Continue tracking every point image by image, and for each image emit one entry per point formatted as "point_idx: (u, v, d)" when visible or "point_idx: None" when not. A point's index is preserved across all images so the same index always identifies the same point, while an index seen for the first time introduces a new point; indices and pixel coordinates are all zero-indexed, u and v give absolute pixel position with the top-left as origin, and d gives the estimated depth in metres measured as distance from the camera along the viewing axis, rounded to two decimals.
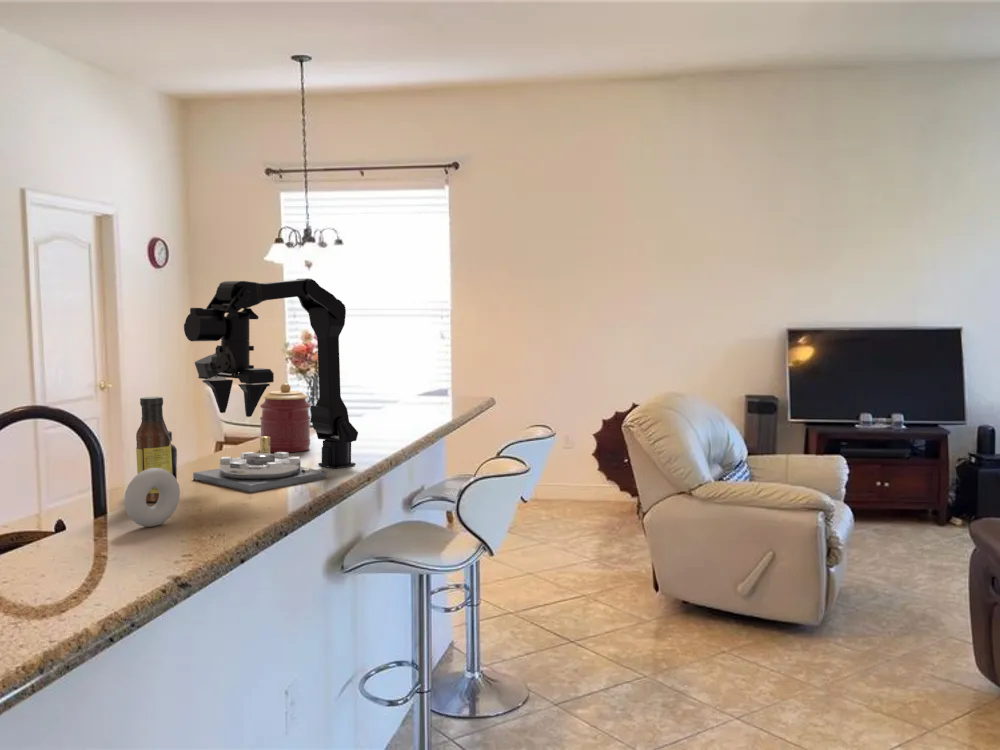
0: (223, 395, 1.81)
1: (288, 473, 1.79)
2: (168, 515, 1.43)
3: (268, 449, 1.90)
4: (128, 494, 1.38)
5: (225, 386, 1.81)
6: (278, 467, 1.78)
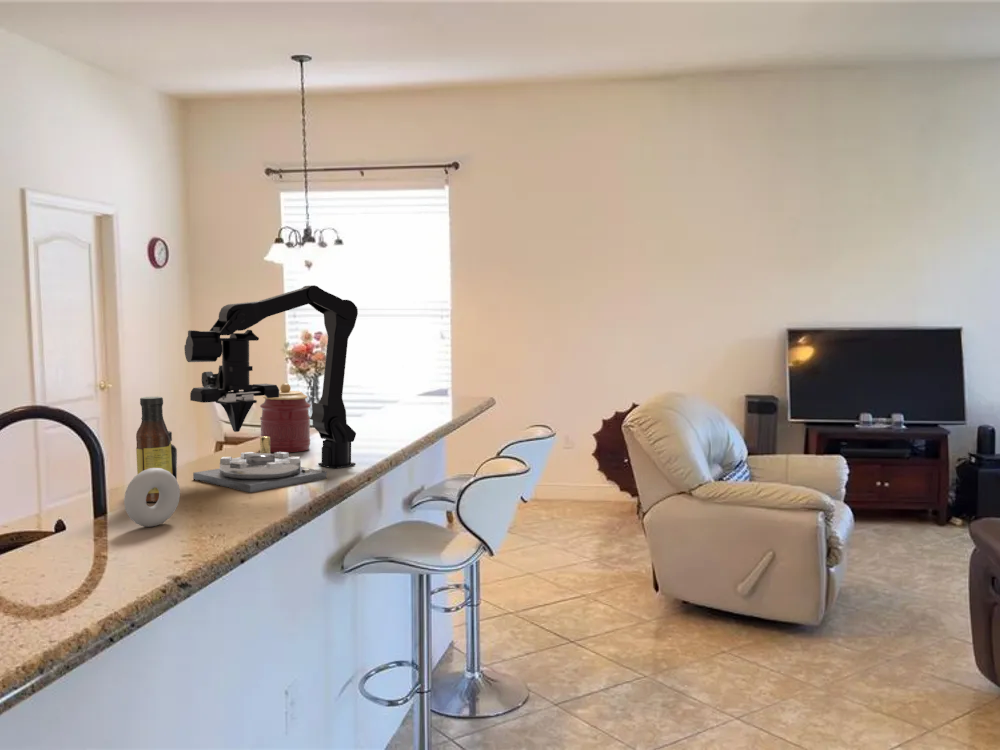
0: None
1: (288, 473, 1.79)
2: (168, 515, 1.43)
3: (268, 449, 1.90)
4: (128, 494, 1.38)
5: (240, 406, 1.86)
6: (278, 467, 1.78)
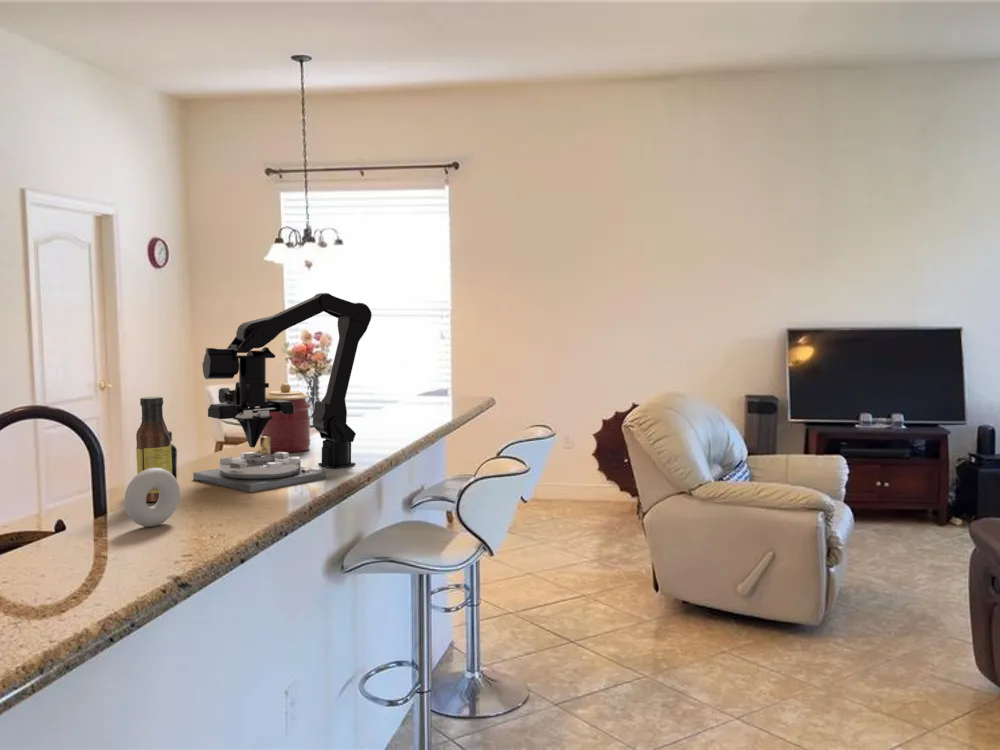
0: None
1: (288, 473, 1.79)
2: (168, 515, 1.43)
3: (268, 449, 1.90)
4: (128, 494, 1.38)
5: (256, 422, 1.89)
6: (278, 467, 1.78)
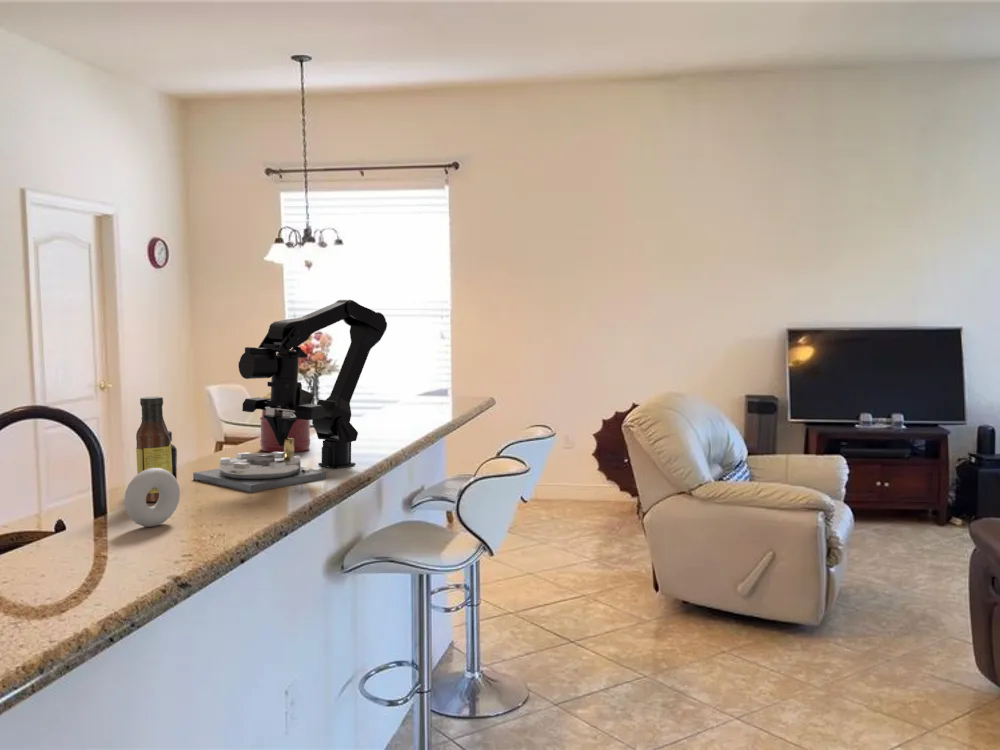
0: None
1: (252, 476, 1.75)
2: (168, 515, 1.43)
3: (288, 451, 1.88)
4: (128, 494, 1.38)
5: None
6: (241, 468, 1.76)
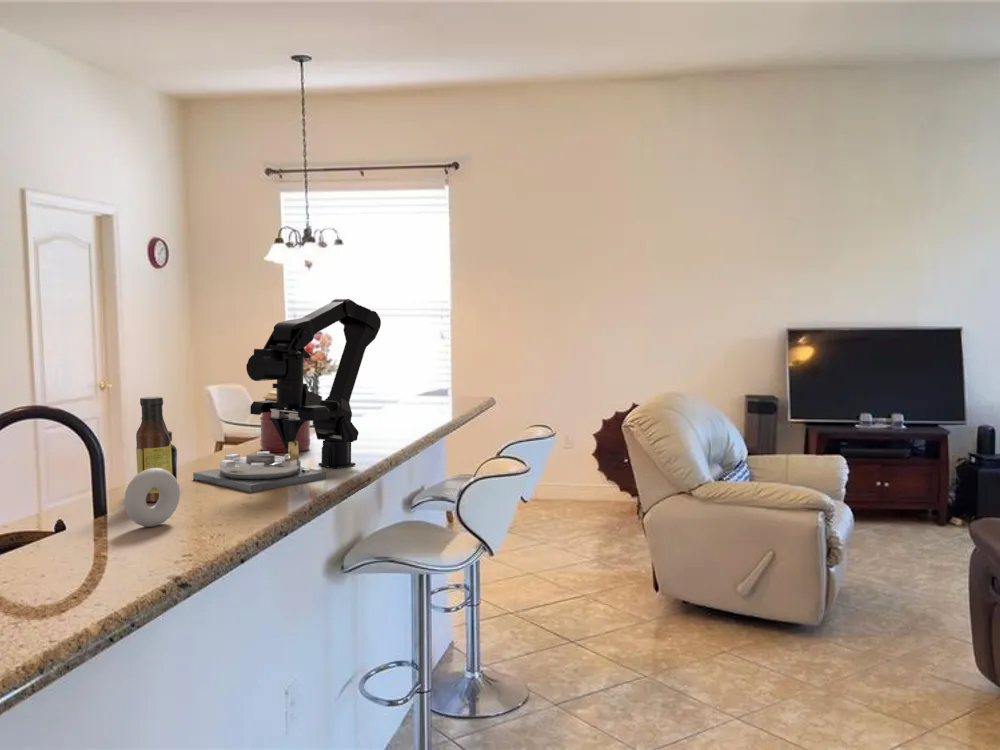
0: None
1: (231, 475, 1.76)
2: (168, 515, 1.43)
3: (290, 454, 1.84)
4: (128, 494, 1.38)
5: None
6: (224, 466, 1.78)
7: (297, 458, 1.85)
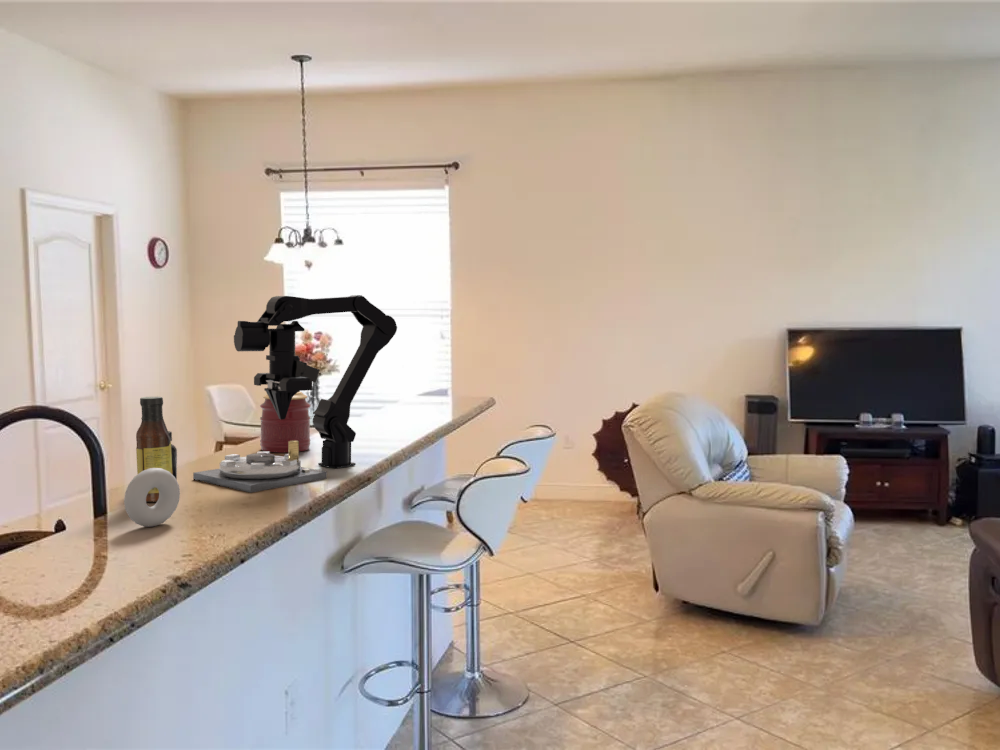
0: None
1: (231, 475, 1.76)
2: (168, 515, 1.43)
3: (290, 454, 1.84)
4: (128, 494, 1.38)
5: None
6: (224, 466, 1.78)
7: (297, 458, 1.85)
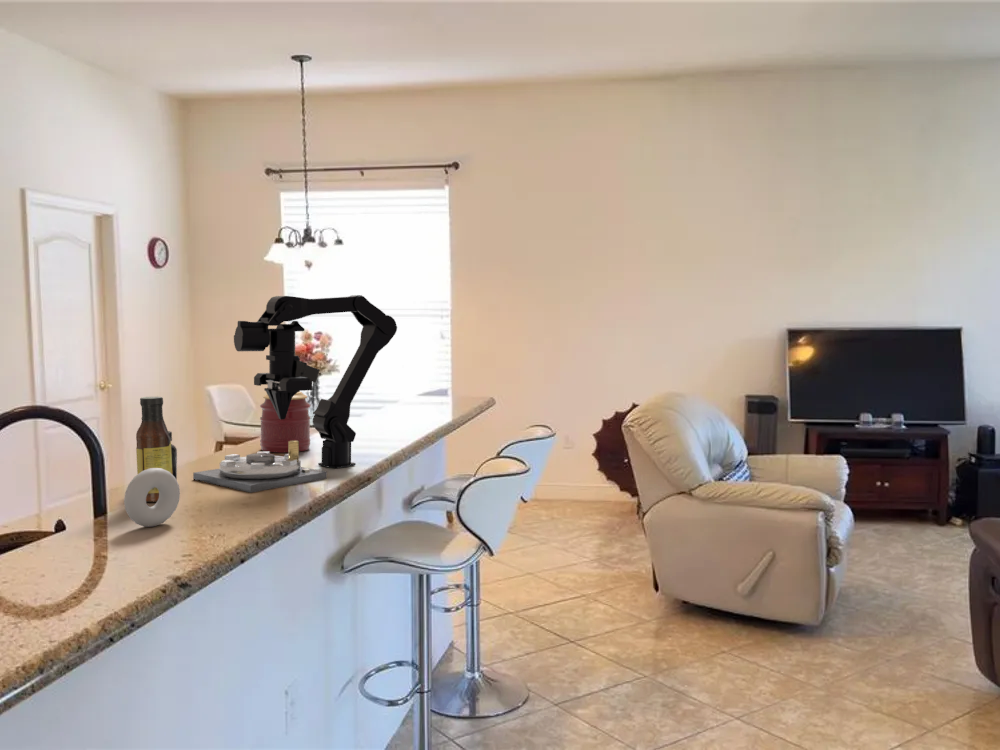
0: None
1: (231, 475, 1.76)
2: (168, 515, 1.43)
3: (290, 454, 1.84)
4: (128, 494, 1.38)
5: None
6: (224, 466, 1.78)
7: (297, 458, 1.85)
